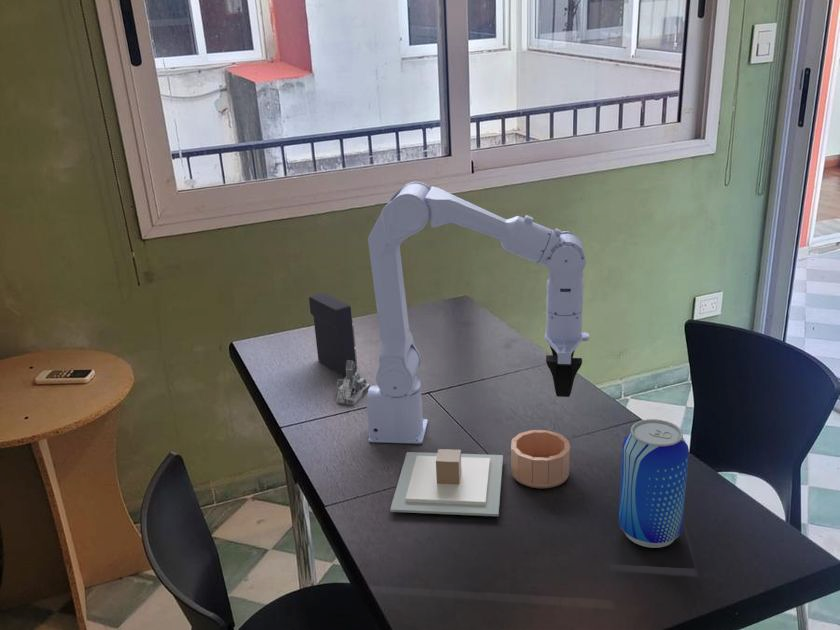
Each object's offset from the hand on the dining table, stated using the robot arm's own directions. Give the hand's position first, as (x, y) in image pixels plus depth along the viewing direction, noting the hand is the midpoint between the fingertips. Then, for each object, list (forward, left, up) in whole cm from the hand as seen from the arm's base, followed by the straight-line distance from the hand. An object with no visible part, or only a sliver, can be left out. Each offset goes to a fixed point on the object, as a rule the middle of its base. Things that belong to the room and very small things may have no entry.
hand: (562, 385), depth 130 cm
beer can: (+11, -26, -10) cm, 30 cm away
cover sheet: (-18, -16, -9) cm, 25 cm away
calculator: (-46, +25, -10) cm, 53 cm away
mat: (-18, -16, -10) cm, 26 cm away
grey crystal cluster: (-42, +14, -10) cm, 45 cm away
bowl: (-4, -12, -10) cm, 16 cm away
